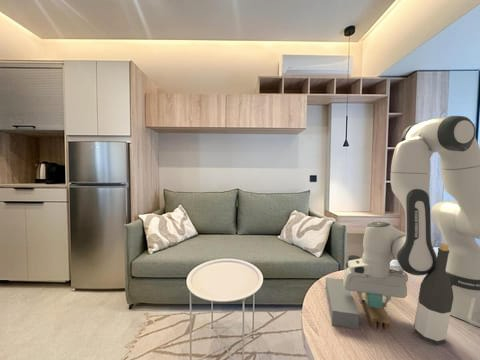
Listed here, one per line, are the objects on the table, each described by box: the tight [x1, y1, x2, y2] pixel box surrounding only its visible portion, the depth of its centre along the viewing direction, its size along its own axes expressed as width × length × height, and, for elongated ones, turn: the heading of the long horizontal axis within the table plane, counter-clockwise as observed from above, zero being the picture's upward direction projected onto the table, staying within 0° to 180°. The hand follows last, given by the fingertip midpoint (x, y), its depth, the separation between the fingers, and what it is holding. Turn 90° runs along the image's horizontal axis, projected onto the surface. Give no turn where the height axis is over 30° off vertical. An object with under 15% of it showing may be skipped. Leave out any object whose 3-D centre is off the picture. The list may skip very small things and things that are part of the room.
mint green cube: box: [367, 293, 384, 308], centre depth 89 cm, size 4×4×4 cm
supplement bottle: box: [345, 255, 361, 270], centre depth 110 cm, size 7×7×12 cm
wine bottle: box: [413, 242, 453, 346], centre depth 75 cm, size 8×8×30 cm
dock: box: [325, 277, 360, 330], centre depth 93 cm, size 8×24×5 cm, turn 166°
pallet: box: [357, 292, 391, 331], centre depth 91 cm, size 6×20×4 cm, turn 166°
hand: (372, 304), depth 90 cm, fingers closed on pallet, 6 cm apart
